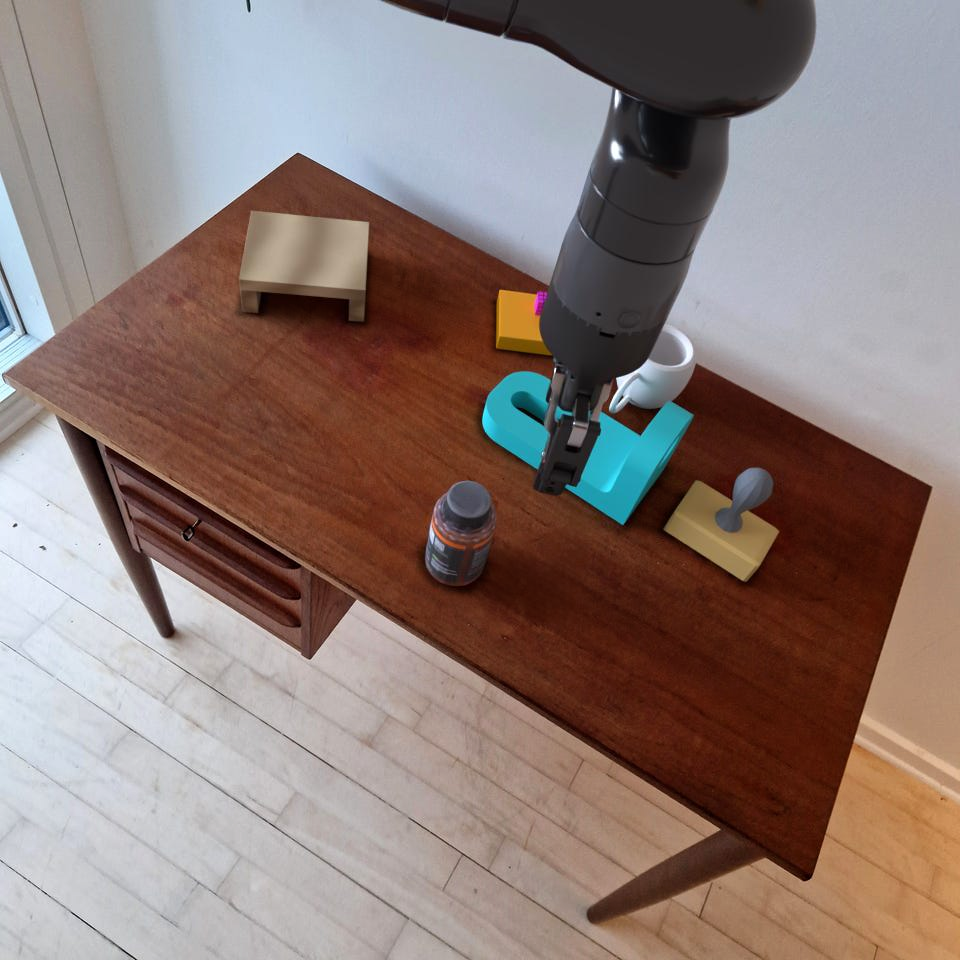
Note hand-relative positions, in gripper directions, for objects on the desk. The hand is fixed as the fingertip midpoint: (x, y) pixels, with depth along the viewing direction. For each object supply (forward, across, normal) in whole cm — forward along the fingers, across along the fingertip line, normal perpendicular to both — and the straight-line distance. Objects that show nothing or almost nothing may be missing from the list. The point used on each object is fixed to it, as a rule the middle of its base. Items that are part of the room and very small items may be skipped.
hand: (552, 444), depth 64 cm
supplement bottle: (+23, -1, -5) cm, 23 cm away
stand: (+23, -35, -29) cm, 51 cm away
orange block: (+23, -36, -1) cm, 42 cm away
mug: (+23, -28, +12) cm, 38 cm away
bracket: (+23, -19, +5) cm, 30 cm away
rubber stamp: (+23, -11, +22) cm, 33 cm away
